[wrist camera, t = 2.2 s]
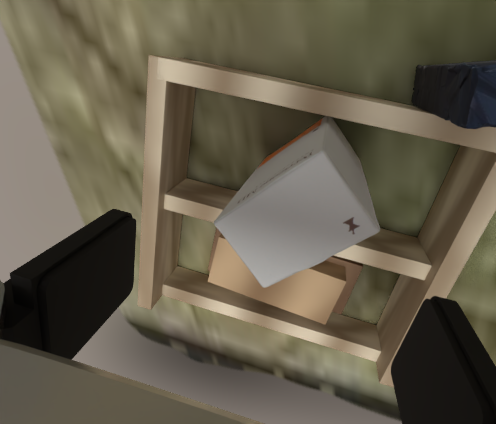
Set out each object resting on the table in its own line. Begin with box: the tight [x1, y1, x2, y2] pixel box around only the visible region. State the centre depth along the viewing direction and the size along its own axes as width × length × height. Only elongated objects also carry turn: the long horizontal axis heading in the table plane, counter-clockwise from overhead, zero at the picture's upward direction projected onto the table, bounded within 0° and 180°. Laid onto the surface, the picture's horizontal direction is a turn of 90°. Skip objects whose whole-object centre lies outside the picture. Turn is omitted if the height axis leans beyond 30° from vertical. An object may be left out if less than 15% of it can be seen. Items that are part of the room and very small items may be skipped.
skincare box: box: [214, 116, 380, 288], centre depth 19 cm, size 6×4×12 cm
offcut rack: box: [138, 55, 496, 387], centre depth 24 cm, size 21×19×5 cm
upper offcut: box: [208, 233, 346, 325], centre depth 26 cm, size 10×4×2 cm, turn 75°
